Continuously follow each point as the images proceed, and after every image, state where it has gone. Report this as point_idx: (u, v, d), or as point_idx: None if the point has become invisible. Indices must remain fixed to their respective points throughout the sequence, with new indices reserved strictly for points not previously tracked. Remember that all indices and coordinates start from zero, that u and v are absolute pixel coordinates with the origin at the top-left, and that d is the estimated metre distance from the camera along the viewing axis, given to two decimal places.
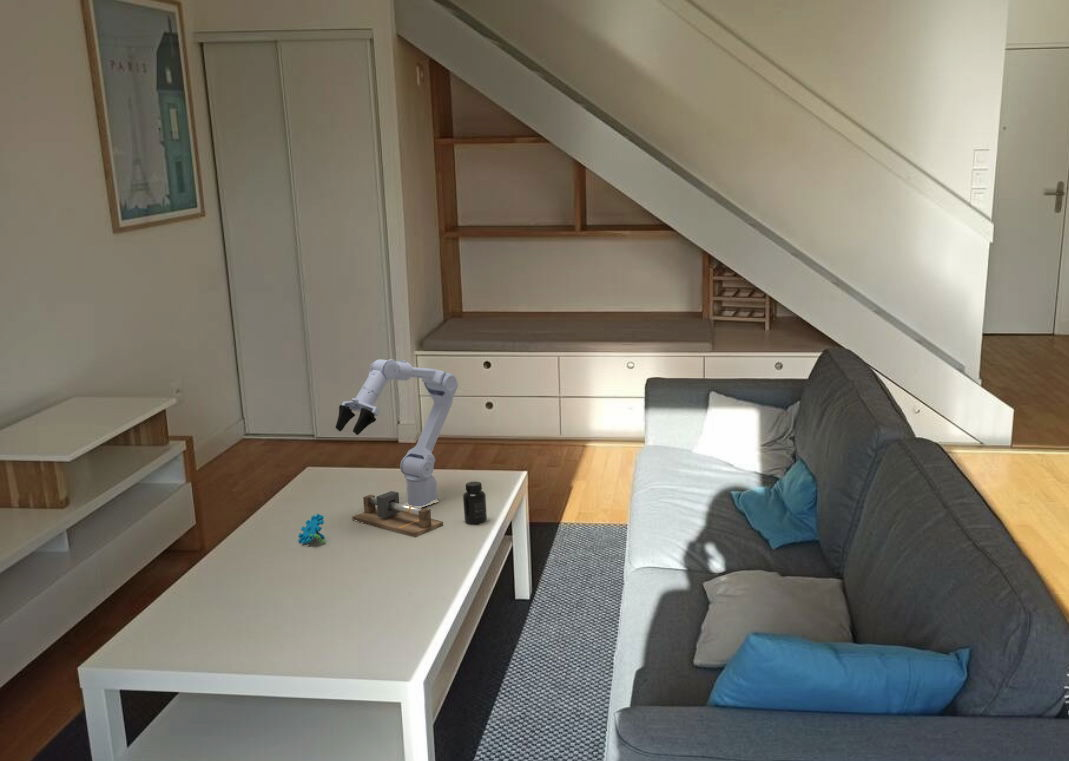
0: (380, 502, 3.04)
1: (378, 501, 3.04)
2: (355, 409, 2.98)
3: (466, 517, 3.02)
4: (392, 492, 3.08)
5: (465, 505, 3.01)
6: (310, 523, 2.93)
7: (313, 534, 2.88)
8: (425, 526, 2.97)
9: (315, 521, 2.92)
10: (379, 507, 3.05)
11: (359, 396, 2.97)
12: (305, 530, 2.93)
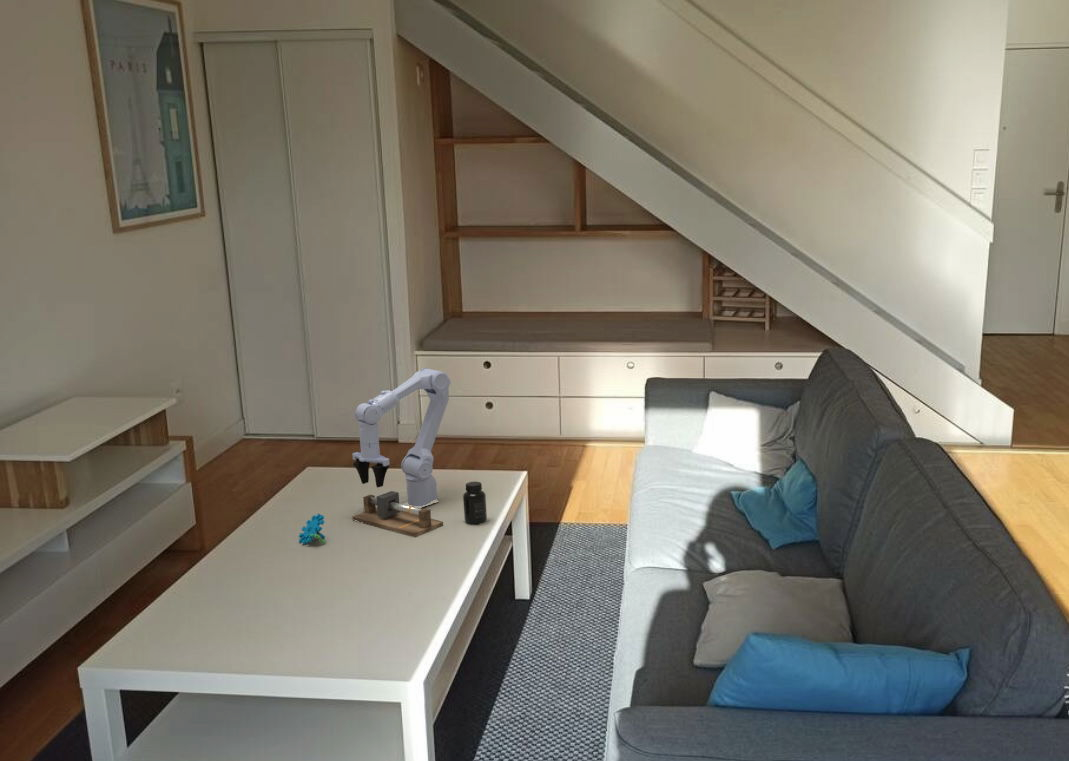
0: (380, 502, 3.04)
1: (378, 501, 3.04)
2: (367, 461, 3.09)
3: (466, 517, 3.02)
4: (392, 492, 3.08)
5: (465, 505, 3.01)
6: (310, 523, 2.93)
7: (313, 534, 2.88)
8: (425, 526, 2.97)
9: (315, 521, 2.92)
10: (379, 507, 3.05)
11: (364, 454, 3.05)
12: (305, 530, 2.93)
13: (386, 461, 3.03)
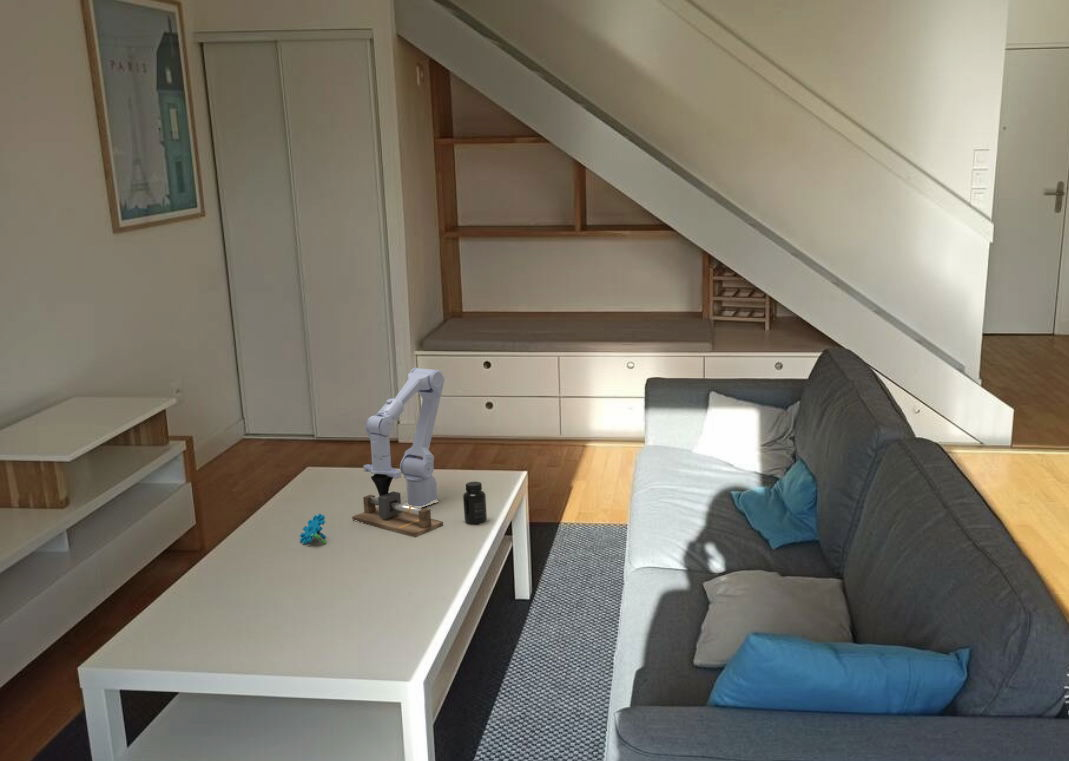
0: (382, 502, 3.03)
1: (380, 501, 3.04)
2: (378, 473, 3.06)
3: (466, 517, 3.02)
4: (394, 492, 3.07)
5: (465, 505, 3.01)
6: (312, 523, 2.94)
7: (314, 534, 2.88)
8: (425, 526, 2.97)
9: (316, 521, 2.92)
10: (381, 508, 3.04)
11: (375, 466, 3.03)
12: (306, 530, 2.93)
13: (398, 474, 3.01)
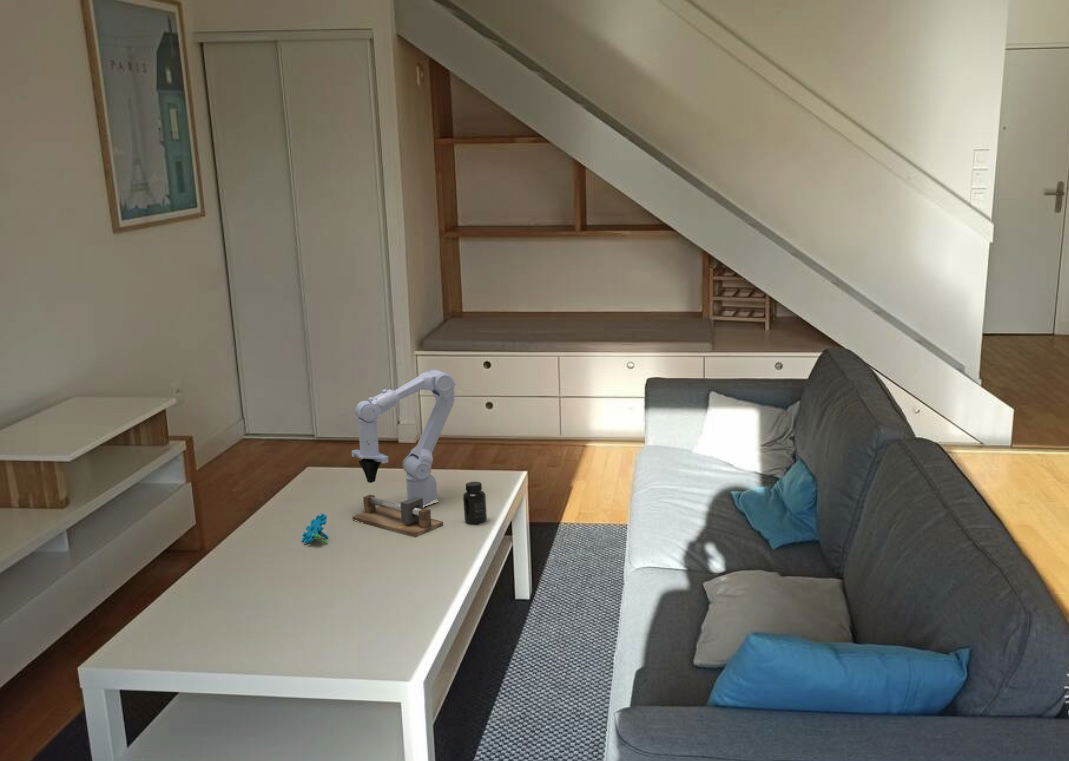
0: (404, 508, 2.98)
1: (402, 507, 2.98)
2: (366, 458, 3.12)
3: (466, 517, 3.02)
4: (416, 498, 3.02)
5: (465, 505, 3.01)
6: (314, 523, 2.94)
7: (315, 534, 2.88)
8: (425, 526, 2.97)
9: (318, 521, 2.92)
10: (403, 513, 2.98)
11: (363, 451, 3.08)
12: (309, 529, 2.93)
13: (385, 458, 3.06)
